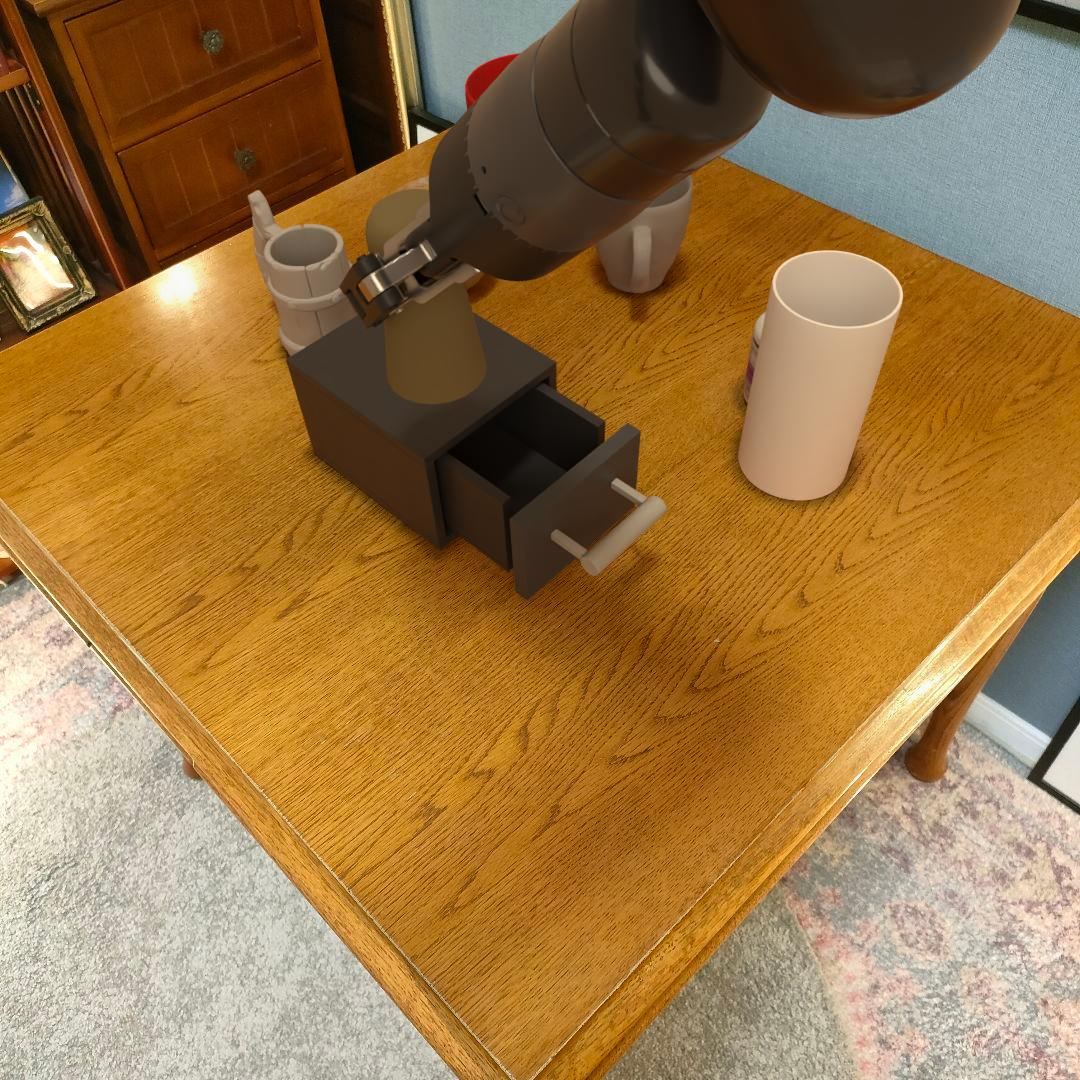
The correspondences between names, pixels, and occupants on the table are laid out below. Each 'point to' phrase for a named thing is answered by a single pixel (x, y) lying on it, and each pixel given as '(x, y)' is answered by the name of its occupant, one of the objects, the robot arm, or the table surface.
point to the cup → (816, 371)
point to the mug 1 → (301, 275)
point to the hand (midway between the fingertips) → (402, 285)
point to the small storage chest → (401, 415)
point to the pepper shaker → (426, 322)
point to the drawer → (545, 489)
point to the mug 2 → (648, 241)
